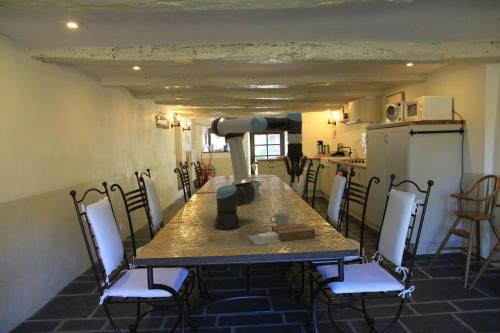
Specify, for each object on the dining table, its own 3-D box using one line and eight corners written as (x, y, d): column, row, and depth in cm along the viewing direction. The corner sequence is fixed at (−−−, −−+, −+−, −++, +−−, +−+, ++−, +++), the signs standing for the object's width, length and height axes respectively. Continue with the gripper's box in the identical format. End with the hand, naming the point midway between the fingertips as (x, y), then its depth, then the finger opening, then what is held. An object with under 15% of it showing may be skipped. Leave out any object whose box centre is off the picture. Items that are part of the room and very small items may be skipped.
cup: (269, 228, 183) (269, 214, 182) (271, 224, 191) (270, 211, 190) (289, 229, 181) (289, 215, 180) (289, 225, 189) (289, 211, 188)
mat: (247, 236, 169) (247, 235, 169) (270, 233, 173) (270, 233, 173) (256, 245, 155) (256, 244, 155) (281, 242, 159) (281, 241, 159)
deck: (272, 233, 173) (271, 226, 172) (302, 230, 178) (302, 223, 178) (282, 241, 159) (282, 233, 159) (315, 237, 165) (315, 230, 164)
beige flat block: (258, 237, 166) (258, 233, 166) (274, 235, 169) (274, 231, 169) (261, 240, 160) (261, 237, 160) (278, 238, 163) (278, 235, 163)
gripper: (285, 143, 159) (286, 190, 161) (309, 142, 163) (310, 189, 165) (280, 143, 167) (280, 188, 169) (303, 142, 170) (303, 187, 172)
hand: (295, 188), depth 167 cm, fingers closed
